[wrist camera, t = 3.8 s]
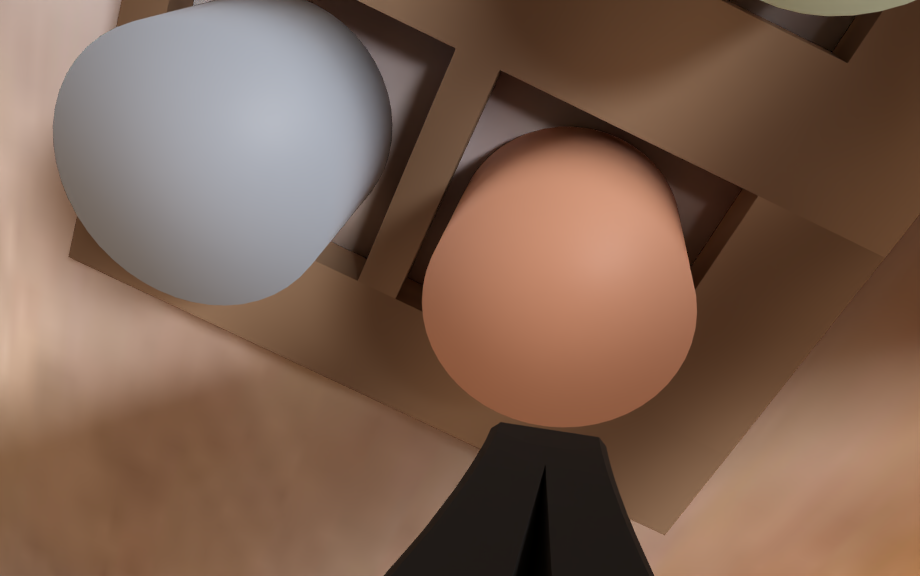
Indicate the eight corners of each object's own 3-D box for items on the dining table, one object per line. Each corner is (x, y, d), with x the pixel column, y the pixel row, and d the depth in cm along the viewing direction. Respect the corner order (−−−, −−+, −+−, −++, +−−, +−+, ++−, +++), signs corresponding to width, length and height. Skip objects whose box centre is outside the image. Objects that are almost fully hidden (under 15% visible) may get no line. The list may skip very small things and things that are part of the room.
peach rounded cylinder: (725, 189, 18) (753, 263, 14) (611, 365, 20) (611, 465, 16) (513, 86, 17) (488, 134, 14) (424, 276, 20) (383, 359, 16)
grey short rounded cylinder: (428, 59, 16) (378, 104, 13) (345, 263, 19) (283, 349, 15) (197, -53, 16) (80, -40, 13) (143, 167, 19) (33, 231, 15)
